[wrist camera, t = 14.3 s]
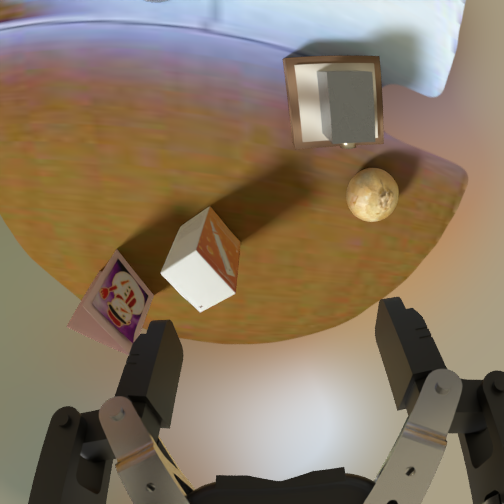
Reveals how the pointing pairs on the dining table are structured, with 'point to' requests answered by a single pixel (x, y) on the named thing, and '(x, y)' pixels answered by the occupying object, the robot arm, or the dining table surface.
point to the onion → (372, 194)
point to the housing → (347, 107)
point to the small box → (203, 261)
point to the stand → (307, 95)
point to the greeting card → (113, 306)
